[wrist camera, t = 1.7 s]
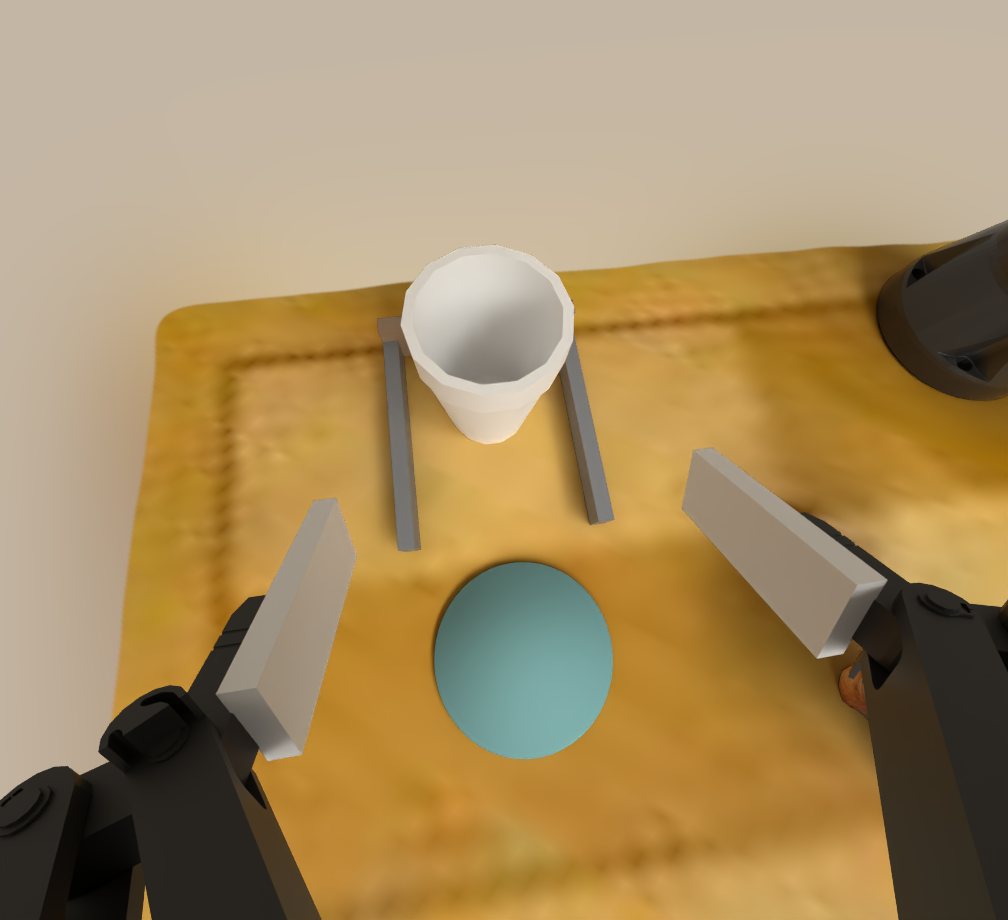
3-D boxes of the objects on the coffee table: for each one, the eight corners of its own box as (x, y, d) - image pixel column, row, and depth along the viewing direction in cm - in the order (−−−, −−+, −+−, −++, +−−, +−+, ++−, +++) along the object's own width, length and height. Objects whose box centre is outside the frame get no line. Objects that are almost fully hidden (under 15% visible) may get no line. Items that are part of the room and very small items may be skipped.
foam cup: (471, 482, 32) (461, 428, 19) (413, 396, 33) (368, 294, 21) (563, 422, 33) (609, 336, 21) (503, 343, 35) (511, 220, 23)
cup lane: (563, 327, 36) (572, 299, 32) (604, 522, 31) (620, 516, 27) (389, 346, 35) (377, 318, 31) (405, 551, 30) (393, 549, 26)
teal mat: (591, 550, 30) (592, 550, 30) (628, 737, 27) (630, 740, 27) (427, 575, 29) (426, 575, 29) (444, 772, 26) (444, 776, 26)
